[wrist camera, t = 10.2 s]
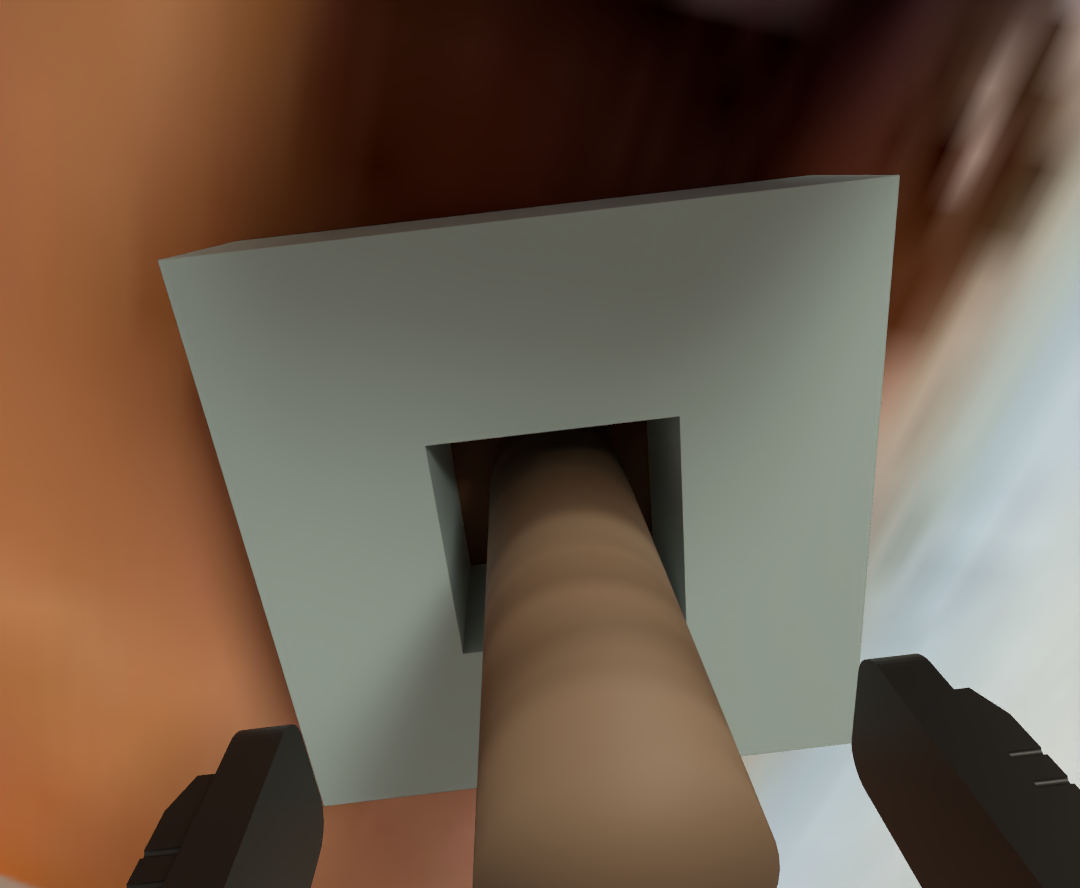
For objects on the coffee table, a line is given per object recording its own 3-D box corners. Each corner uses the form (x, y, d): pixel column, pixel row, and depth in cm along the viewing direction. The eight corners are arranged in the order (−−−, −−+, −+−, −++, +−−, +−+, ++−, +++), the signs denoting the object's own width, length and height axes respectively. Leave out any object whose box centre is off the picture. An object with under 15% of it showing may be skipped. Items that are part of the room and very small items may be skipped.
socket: (235, 240, 16) (158, 260, 13) (811, 175, 17) (899, 174, 13) (355, 697, 22) (324, 806, 18) (793, 645, 22) (852, 742, 18)
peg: (482, 419, 18) (450, 793, 7) (615, 404, 18) (784, 752, 7) (499, 535, 20) (494, 1001, 9) (623, 521, 20) (776, 968, 9)
